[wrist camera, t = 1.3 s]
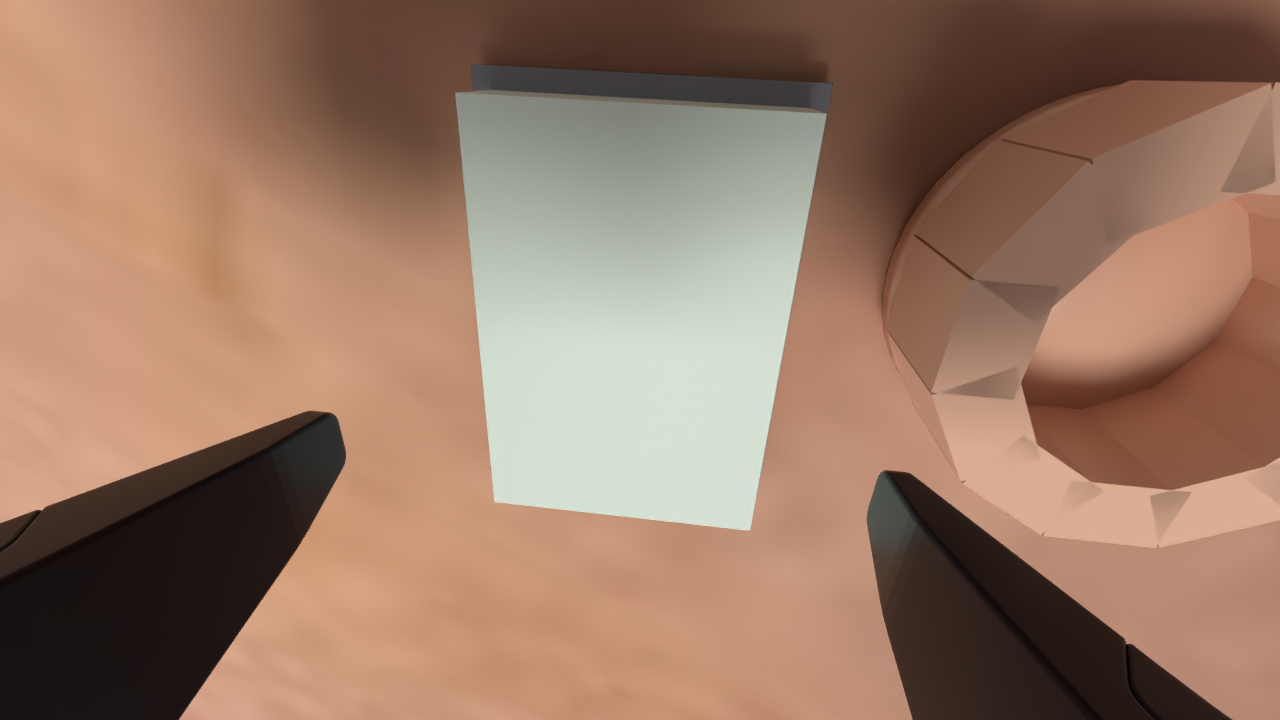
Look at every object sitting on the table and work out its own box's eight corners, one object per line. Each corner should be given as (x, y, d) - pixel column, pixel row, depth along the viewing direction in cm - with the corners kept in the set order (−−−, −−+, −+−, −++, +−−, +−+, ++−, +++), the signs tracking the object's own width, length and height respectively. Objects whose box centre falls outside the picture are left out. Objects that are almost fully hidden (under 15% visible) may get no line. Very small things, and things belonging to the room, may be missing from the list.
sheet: (809, 108, 12) (827, 113, 10) (745, 483, 17) (749, 530, 15) (490, 89, 13) (455, 92, 11) (515, 458, 18) (494, 501, 16)
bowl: (1393, 94, 12) (1713, 103, 8) (1177, 450, 16) (1321, 565, 12) (939, 71, 12) (1039, 70, 9) (848, 419, 17) (889, 519, 13)
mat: (826, 82, 13) (832, 83, 12) (754, 480, 18) (756, 497, 17) (483, 64, 13) (470, 64, 13) (512, 454, 19) (504, 470, 18)
